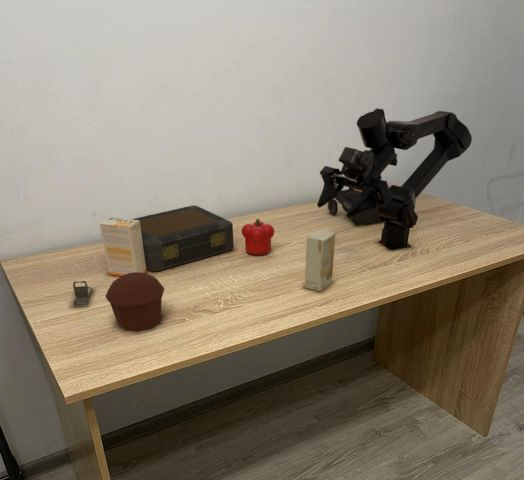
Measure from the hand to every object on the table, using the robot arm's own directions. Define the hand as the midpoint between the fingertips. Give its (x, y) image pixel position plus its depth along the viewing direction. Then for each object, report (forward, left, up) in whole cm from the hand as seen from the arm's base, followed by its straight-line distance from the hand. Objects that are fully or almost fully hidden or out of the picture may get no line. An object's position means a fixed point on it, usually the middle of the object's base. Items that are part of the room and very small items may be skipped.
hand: (332, 211), depth 123 cm
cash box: (+32, -27, -15) cm, 45 cm away
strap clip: (+58, -7, -15) cm, 60 cm away
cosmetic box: (+6, +6, -15) cm, 17 cm away
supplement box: (+46, -17, -15) cm, 51 cm away
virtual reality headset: (-28, -35, -15) cm, 48 cm away
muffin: (+48, +8, -15) cm, 51 cm away
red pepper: (+12, -18, -15) cm, 26 cm away
